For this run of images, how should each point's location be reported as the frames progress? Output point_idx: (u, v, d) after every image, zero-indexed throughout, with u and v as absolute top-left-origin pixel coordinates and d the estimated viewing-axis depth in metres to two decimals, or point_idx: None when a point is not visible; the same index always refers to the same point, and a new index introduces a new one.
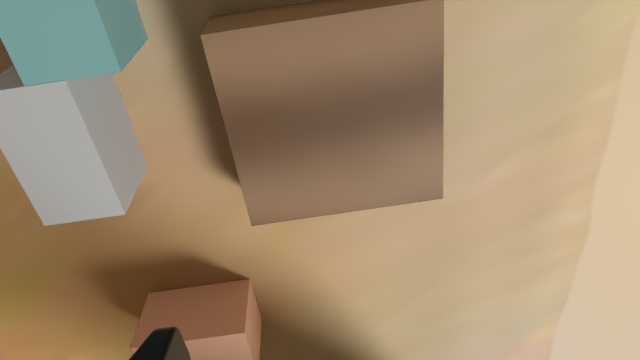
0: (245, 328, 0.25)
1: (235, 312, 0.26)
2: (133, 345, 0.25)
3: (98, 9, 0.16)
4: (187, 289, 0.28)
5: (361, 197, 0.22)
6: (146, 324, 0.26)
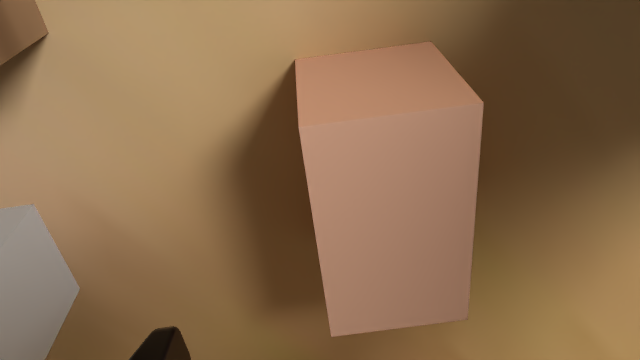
0: (304, 117, 0.09)
1: None
2: (330, 328, 0.12)
3: None
4: None
5: None
6: None
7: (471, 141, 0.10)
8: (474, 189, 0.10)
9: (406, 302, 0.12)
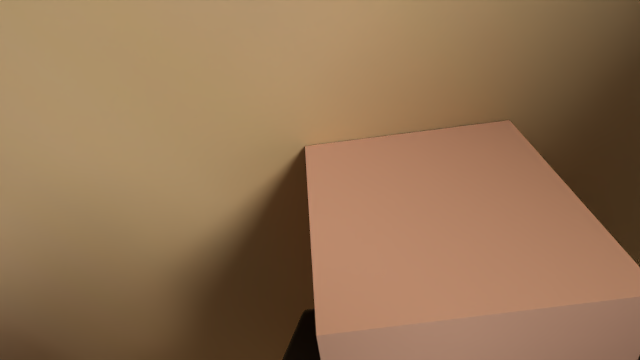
0: (326, 305, 0.05)
1: None
2: None
3: None
4: None
5: None
6: None
7: (626, 347, 0.05)
8: None
9: None
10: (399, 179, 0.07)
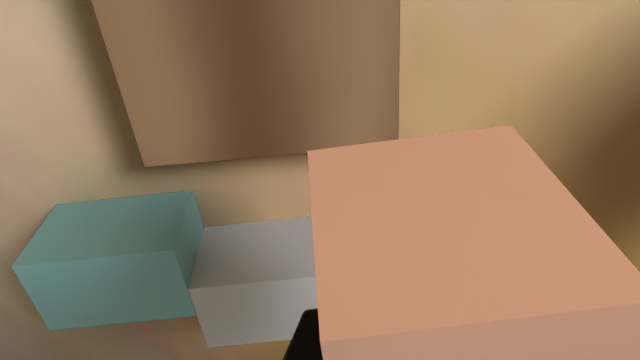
0: (329, 312, 0.05)
1: None
2: None
3: (116, 254, 0.18)
4: None
5: None
6: None
7: (627, 353, 0.05)
8: None
9: None
10: (401, 184, 0.07)
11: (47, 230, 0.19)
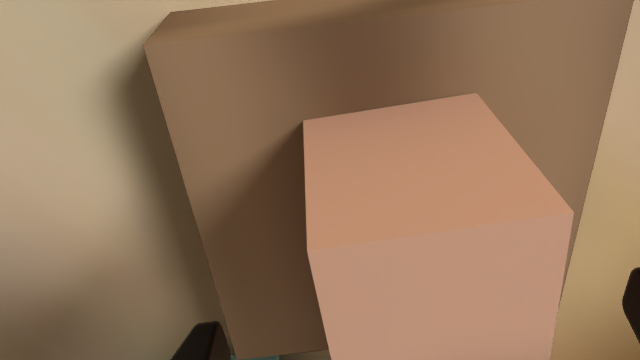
0: (315, 232, 0.07)
1: None
2: None
3: None
4: None
5: (561, 169, 0.11)
6: None
7: (553, 260, 0.07)
8: (553, 316, 0.07)
9: None
10: (379, 142, 0.09)
11: None
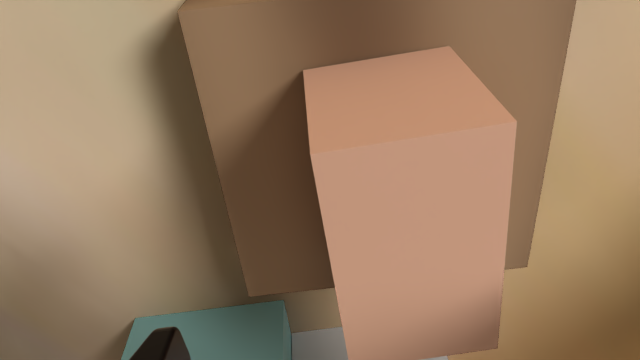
0: (316, 142, 0.09)
1: None
2: None
3: None
4: None
5: (527, 122, 0.13)
6: None
7: (503, 163, 0.09)
8: (506, 214, 0.09)
9: (431, 333, 0.11)
10: (367, 82, 0.10)
11: None
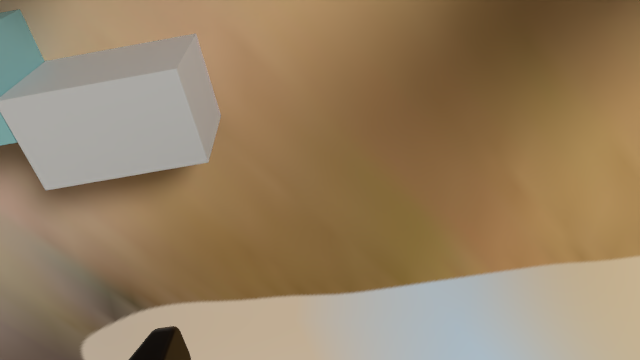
0: None
1: None
2: None
3: None
4: None
5: None
6: None
7: None
8: None
9: None
10: None
11: None
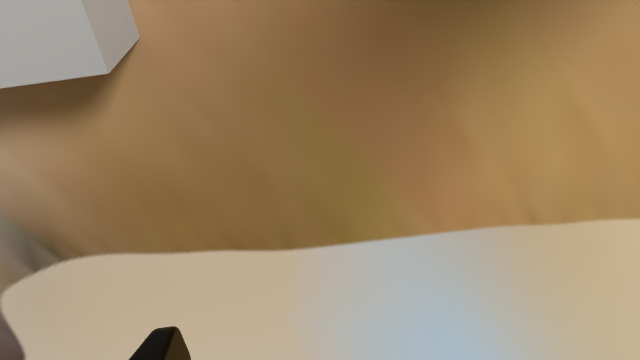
0: None
1: None
2: None
3: None
4: None
5: None
6: None
7: None
8: None
9: None
10: None
11: None
